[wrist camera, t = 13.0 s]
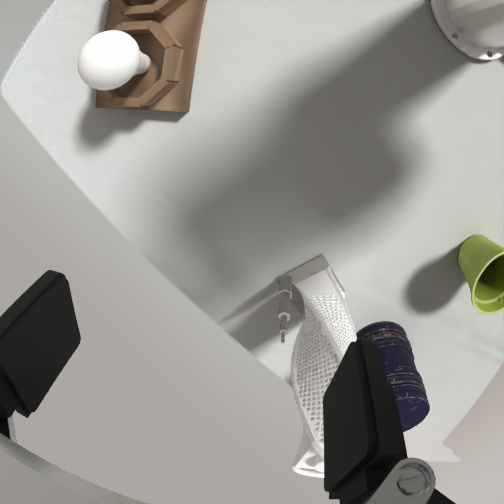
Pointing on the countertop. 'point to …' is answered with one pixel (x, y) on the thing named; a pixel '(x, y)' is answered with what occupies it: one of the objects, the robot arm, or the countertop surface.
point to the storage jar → (400, 371)
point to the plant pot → (483, 273)
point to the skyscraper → (314, 348)
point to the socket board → (157, 52)
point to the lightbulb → (111, 60)
